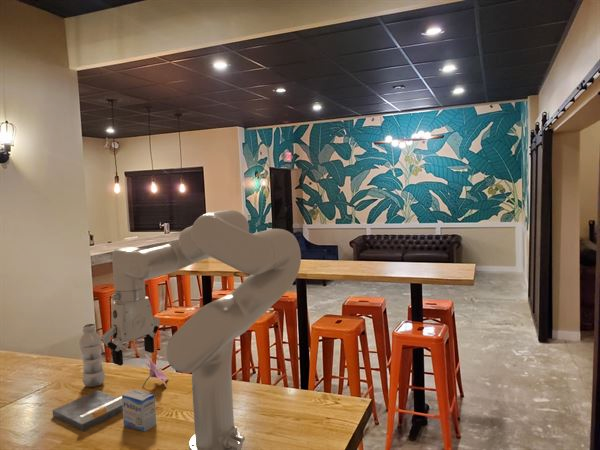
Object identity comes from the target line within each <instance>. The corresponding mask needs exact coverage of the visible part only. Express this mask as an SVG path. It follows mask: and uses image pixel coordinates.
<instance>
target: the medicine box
mask: <svg viewBox="0 0 600 450" xmlns="http://www.w3.org/2000/svg"><path fill="white" fill-rule="evenodd" d="M121 396H122V405H123V412H122V417H123V419H122V420H123V426H125V427H126V428H130V429H133V430H138V431H140V432H144V433H145V432H147V431H149V430H150V429H152V428H154V426H157V413H156V398H155V397H156V396H155V394H153V393H149V392H145V391H141V390H137V389H132V390H129V391H127V392H126V393H123V394H122V395H121Z"/></svg>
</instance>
